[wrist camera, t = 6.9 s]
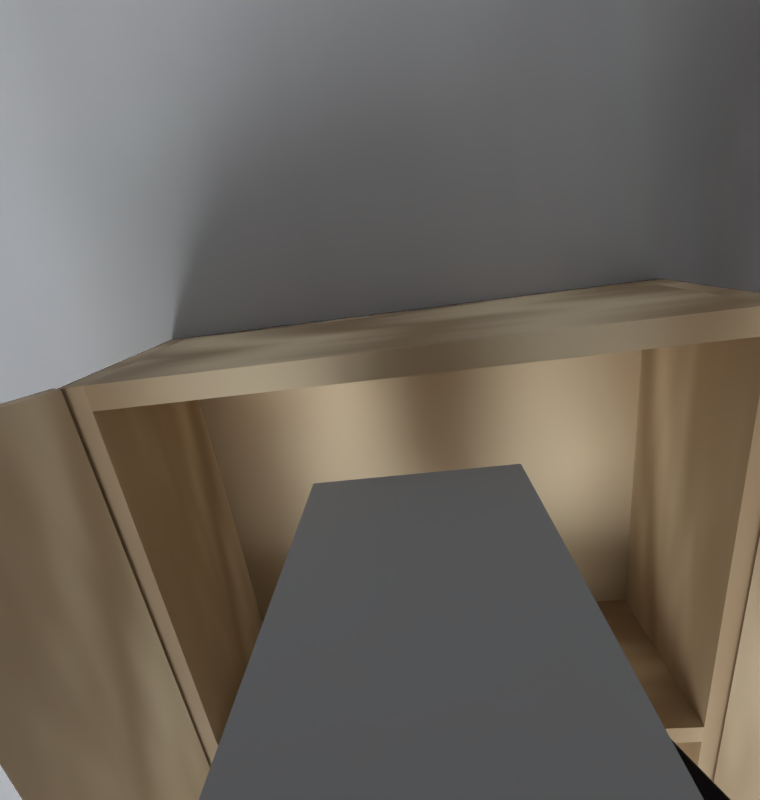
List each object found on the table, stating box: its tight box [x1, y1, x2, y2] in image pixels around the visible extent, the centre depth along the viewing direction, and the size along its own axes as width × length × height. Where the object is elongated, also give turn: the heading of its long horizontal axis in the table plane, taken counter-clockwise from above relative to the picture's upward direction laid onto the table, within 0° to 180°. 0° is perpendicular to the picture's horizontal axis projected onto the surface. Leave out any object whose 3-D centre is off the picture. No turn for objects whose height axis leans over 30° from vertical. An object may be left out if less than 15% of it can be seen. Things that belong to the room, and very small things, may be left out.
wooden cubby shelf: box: [0, 279, 760, 800], centre depth 14 cm, size 19×24×8 cm
